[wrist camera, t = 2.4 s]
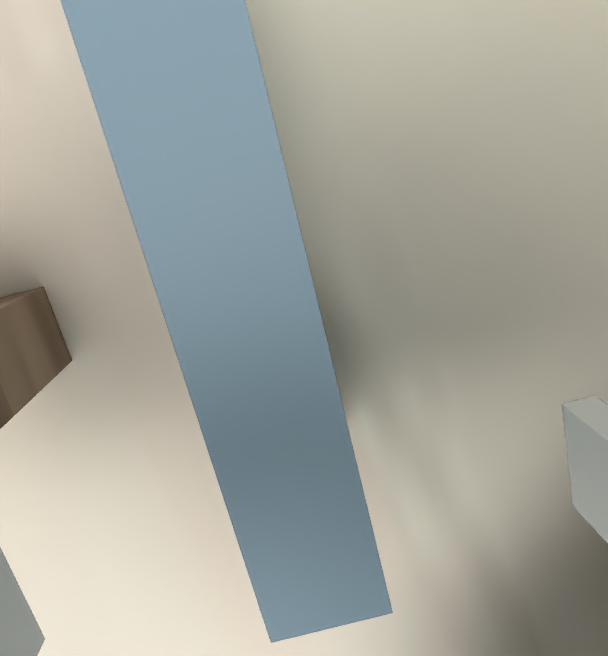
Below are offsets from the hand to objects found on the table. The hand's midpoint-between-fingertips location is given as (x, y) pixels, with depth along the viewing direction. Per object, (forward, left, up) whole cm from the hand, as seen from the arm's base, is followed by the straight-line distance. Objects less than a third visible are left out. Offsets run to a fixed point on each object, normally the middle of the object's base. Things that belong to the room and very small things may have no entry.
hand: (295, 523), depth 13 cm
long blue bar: (0, -5, -10) cm, 11 cm away
